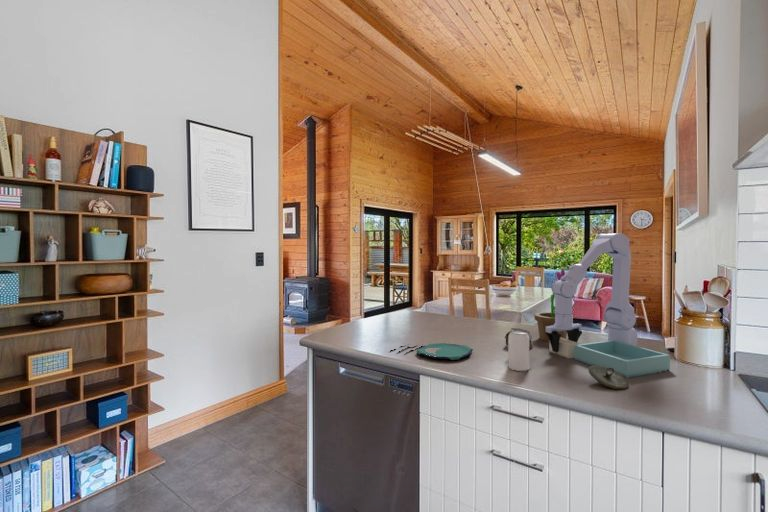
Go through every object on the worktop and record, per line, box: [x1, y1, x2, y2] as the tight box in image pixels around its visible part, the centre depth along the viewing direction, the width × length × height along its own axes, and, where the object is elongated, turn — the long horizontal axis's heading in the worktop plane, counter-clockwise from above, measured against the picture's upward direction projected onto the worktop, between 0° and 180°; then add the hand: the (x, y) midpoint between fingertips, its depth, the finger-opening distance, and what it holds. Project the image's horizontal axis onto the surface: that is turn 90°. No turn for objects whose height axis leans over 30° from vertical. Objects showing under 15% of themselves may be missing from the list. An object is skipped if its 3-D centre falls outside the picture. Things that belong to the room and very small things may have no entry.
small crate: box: [548, 337, 580, 359], centre depth 140 cm, size 5×9×5 cm, turn 18°
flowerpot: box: [533, 268, 568, 343], centre depth 161 cm, size 14×14×30 cm
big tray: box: [574, 340, 671, 379], centre depth 127 cm, size 18×20×5 cm
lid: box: [587, 365, 630, 390], centre depth 111 cm, size 11×10×5 cm
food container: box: [510, 327, 533, 348], centre depth 134 cm, size 12×6×10 cm, turn 168°
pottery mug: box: [504, 327, 533, 350], centre depth 152 cm, size 12×10×8 cm
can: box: [507, 330, 530, 372], centre depth 125 cm, size 6×6×12 cm
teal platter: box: [416, 342, 474, 361], centre depth 146 cm, size 20×30×2 cm, turn 56°
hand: (563, 350), depth 140 cm, fingers open, 7 cm apart
